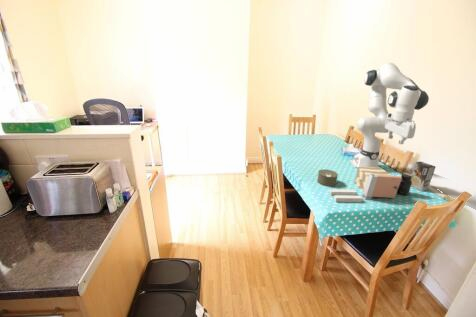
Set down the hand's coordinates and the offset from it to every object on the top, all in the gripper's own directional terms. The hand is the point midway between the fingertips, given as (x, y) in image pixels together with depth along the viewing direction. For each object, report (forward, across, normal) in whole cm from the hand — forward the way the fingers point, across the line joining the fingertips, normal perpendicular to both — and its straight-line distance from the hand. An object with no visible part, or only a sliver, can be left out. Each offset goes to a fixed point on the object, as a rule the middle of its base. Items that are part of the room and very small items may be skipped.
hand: (395, 141), depth 130 cm
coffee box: (+33, +4, -27) cm, 43 cm away
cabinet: (+32, -2, +7) cm, 33 cm away
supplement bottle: (+32, -4, -11) cm, 34 cm away
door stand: (+32, -10, +27) cm, 43 cm away
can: (+33, +9, +31) cm, 46 cm away
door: (+31, -10, +7) cm, 33 cm away
